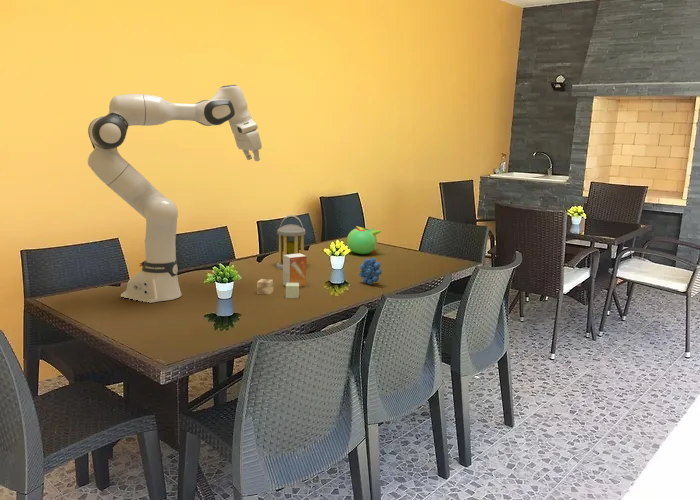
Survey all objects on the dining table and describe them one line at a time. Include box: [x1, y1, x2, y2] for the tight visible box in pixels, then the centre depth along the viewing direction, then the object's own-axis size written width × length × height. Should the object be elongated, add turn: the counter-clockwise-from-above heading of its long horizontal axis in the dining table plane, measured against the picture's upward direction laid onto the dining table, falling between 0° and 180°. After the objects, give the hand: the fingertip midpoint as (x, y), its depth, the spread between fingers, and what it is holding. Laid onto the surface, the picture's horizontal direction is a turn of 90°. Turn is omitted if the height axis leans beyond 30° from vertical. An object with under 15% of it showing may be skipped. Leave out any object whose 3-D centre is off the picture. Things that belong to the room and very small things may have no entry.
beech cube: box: [256, 278, 274, 296], centre depth 232 cm, size 5×5×5 cm
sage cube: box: [285, 283, 300, 299], centre depth 227 cm, size 5×5×5 cm
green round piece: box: [346, 225, 382, 255], centre depth 309 cm, size 18×17×15 cm
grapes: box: [359, 257, 382, 286], centre depth 247 cm, size 12×7×12 cm, turn 50°
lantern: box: [275, 214, 307, 271], centre depth 273 cm, size 14×14×25 cm
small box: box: [282, 252, 308, 288], centre depth 243 cm, size 8×6×13 cm
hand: (253, 160), depth 231 cm, fingers open, 8 cm apart
